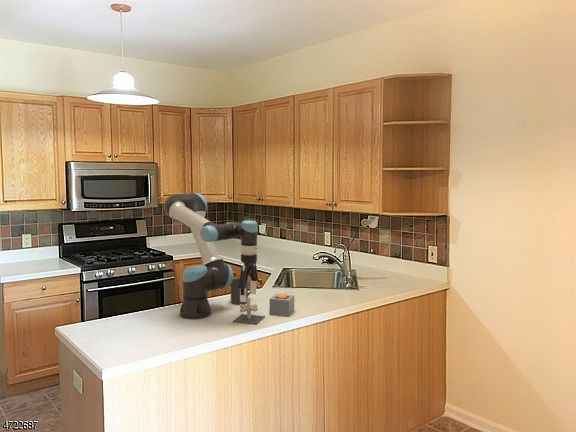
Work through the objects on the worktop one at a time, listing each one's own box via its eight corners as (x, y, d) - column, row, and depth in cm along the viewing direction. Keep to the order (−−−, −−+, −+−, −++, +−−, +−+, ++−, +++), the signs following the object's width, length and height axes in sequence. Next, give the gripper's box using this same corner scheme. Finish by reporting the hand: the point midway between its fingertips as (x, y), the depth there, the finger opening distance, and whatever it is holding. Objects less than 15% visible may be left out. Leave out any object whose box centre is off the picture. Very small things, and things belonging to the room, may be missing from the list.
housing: (269, 314, 242) (269, 298, 241) (275, 309, 251) (275, 293, 250) (289, 316, 239) (289, 300, 238) (294, 310, 249) (294, 295, 248)
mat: (232, 322, 230) (232, 321, 230) (241, 314, 241) (241, 313, 241) (256, 324, 227) (256, 323, 227) (264, 317, 238) (264, 316, 238)
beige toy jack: (248, 314, 241) (248, 294, 240) (263, 317, 235) (263, 297, 234) (234, 319, 233) (233, 298, 232) (249, 323, 227) (248, 302, 226)
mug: (237, 306, 257) (237, 283, 255) (227, 302, 263) (227, 280, 262) (257, 301, 266) (257, 279, 265) (247, 297, 273) (247, 276, 271)
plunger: (275, 300, 243) (275, 295, 242) (278, 298, 248) (278, 293, 247) (285, 301, 241) (285, 296, 241) (288, 298, 246) (288, 293, 246)
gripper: (247, 259, 218) (246, 305, 220) (264, 249, 242) (264, 291, 244) (231, 258, 220) (230, 304, 222) (250, 248, 244) (249, 290, 246)
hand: (248, 297), depth 233 cm, fingers open, 13 cm apart
